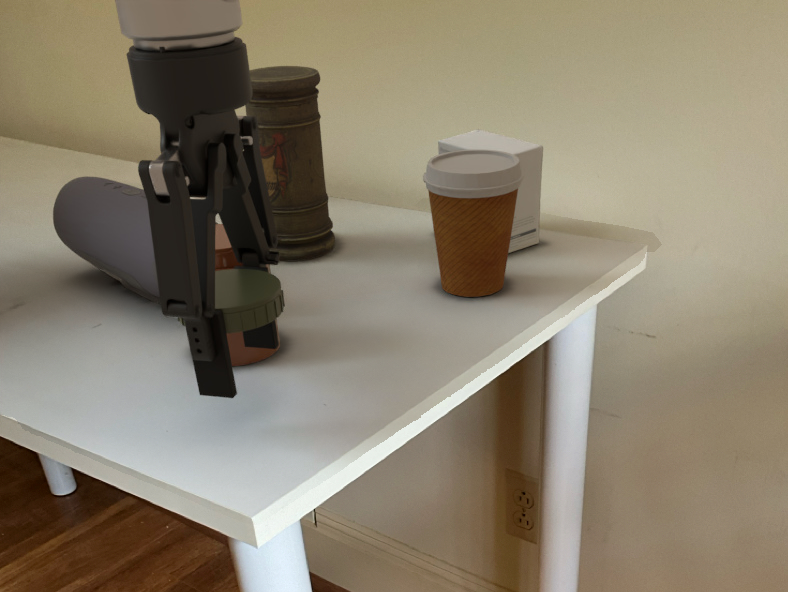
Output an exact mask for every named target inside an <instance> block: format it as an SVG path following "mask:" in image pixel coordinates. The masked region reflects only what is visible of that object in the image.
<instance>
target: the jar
mask: <svg viewBox="0 0 788 592" xmlns="http://www.w3.org/2000/svg"><path fill="white" fill-rule="evenodd" d="M235 266H243V263H238V262H237V260H236V257H235V255H234V252H233V249H232V247H231V244H230V242H229V239H228V237H227V234H226V232H225V229H224V227H223V224H222V223H218V224H216V225H215V271H220V270H228V269H233V268H234V267H235ZM266 267H267V268H268V271H269V273H271V274H272V270H271V265H267V264H266ZM275 322H276V329H277V336H278V343H279V346H278V347H277V348H276V349H267V348H254V347H245V345H244V339H243V332H236V333H226V334H227V340H228V345H229V351H230V357H231V362H232V367H239V366H246V365H250V364H255V363H258V362H261V361H264V360H266V359H268V358H270V357H272V356H273V355H274V354H276V353H277V351H278V350H279V349H280V347H281V338H280V331H279V330H280V329H279V323H278V322H279V321H278V318H277V319H275Z"/></svg>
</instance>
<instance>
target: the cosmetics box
mask: <svg viewBox="0 0 788 592" xmlns="http://www.w3.org/2000/svg"><path fill="white" fill-rule="evenodd" d="M437 150H438V151H437V153H438V155H439V154H443V153H447V152H452V151H460V150H496V151H502V152H507V153H510V154H513V155H515V156H517V157H518V158H519V162H520V168H521V170H522V171H523V172H524V178H523V180H522V181H521V185H520V187H519V188H518V193H517V200H516V206H515V213H514V219H513V226H512V232H511V239H510V245H509V252H508V254H510V253H512V252H513V253H514V252H516V251H519V250H522V249H525V248H529V247H531V246H534V245H537V244H540V224H541V223H540V222H541V219H540V218H541V196H542V178H543V177H542V176H543V175H542V174H543V161H544V159H543V158H544V145H542V144H538V143H534V142H531V141H527V140H522V139H519V138H515V137H511V136H509V135H503V134H500V133H496V132H493V131H492V132H491V131H489V130H484V129H479V128H478V129H475V130H470V131H468V132H463V133H460V134H456V135H453V136H448V137H445V138H442V139H439V140H437Z"/></svg>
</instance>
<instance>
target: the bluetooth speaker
mask: <svg viewBox="0 0 788 592" xmlns="http://www.w3.org/2000/svg"><path fill="white" fill-rule="evenodd" d="M52 221H53V227H54V230H55V233H56V235H57V236H58V238H59V240H60V241H61V242H62V243H63V244H64V246H65V247H67V248H68V249H69V250H70V251H72V253H73V254H76V255H77V256H78V257H80V258H81V259H83V260H85V261H86V262H87V263H89V264H91V265H92V266H94V267H95V268H97V269H99V270H100V271H102V272H104V273H105V274H106V275H108V276H109V277H111V278H112V279H114V280H116V281H119V282H120V284H121V285H122V286H123V287H124V288H126V289H127V290H129V291H130V292H133V293H135V294H137V295H139V296H141V297H143V298H145V299H147V300H149V301H150V302H153V303H156V304H159V305H161V303H160V296H159V288H158V280H157V273H156V265H155V257H154V249H153V242H152V234H151V226H150V218H149V211H148V203H147V198H146V195H145V192H144V189H143V188H139V187H137V186H133V185H130V184H127V183H123V182H120V181H116V180H112V179H110V178H106V177H105V178H104V177H100V176H99V177H98V176H80V177H76V178H73V179H71V180H70V181H68V182H67V183H65V184H64V185H63V186H62V187H61V188H60V189H59V191H58V194H57V195H56V197H55V200H54V204H53V209H52ZM216 224H219V223H218V222H217V221H216Z"/></svg>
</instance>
